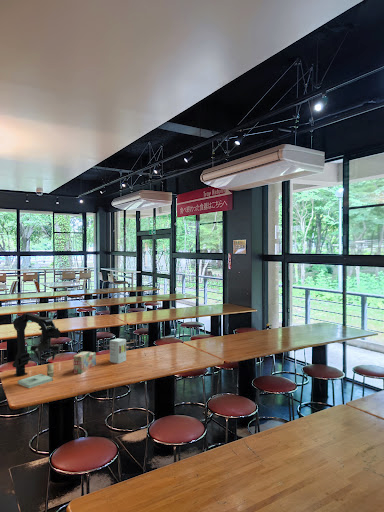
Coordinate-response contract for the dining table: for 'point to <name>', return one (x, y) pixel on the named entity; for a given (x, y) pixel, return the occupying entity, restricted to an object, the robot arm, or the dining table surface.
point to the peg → (50, 370)
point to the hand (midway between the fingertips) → (46, 360)
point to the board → (35, 380)
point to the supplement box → (118, 350)
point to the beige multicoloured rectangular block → (84, 361)
